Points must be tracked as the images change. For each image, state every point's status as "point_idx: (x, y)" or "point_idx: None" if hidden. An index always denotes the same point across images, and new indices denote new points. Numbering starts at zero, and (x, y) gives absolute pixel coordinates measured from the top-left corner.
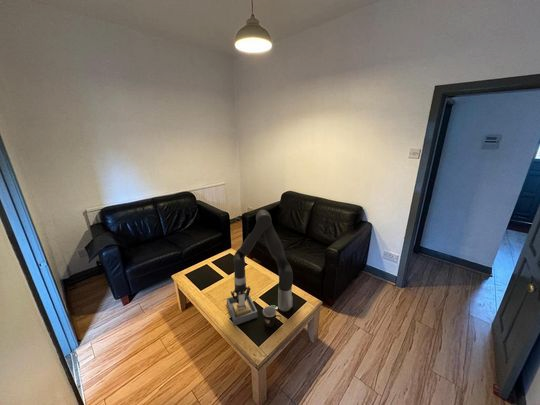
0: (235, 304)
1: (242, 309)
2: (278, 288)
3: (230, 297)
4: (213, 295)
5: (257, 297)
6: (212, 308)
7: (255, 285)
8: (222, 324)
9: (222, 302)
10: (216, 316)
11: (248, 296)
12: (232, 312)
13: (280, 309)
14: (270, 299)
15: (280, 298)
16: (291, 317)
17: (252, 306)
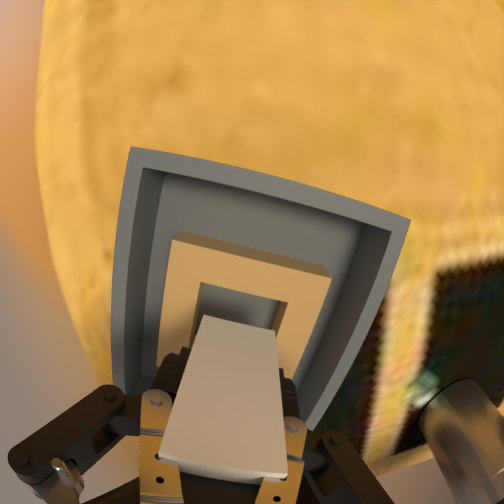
0: (194, 267)
1: (242, 317)
2: (487, 499)
3: (175, 160)
4: (124, 5)
5: (428, 266)
6: (54, 136)
7: (486, 139)
8: (72, 317)
9: (136, 110)
10: (52, 231)
11: (371, 286)
12: (119, 359)
13: (420, 421)
14: (458, 335)
15: (449, 476)
16: (405, 453)
17: (318, 377)
